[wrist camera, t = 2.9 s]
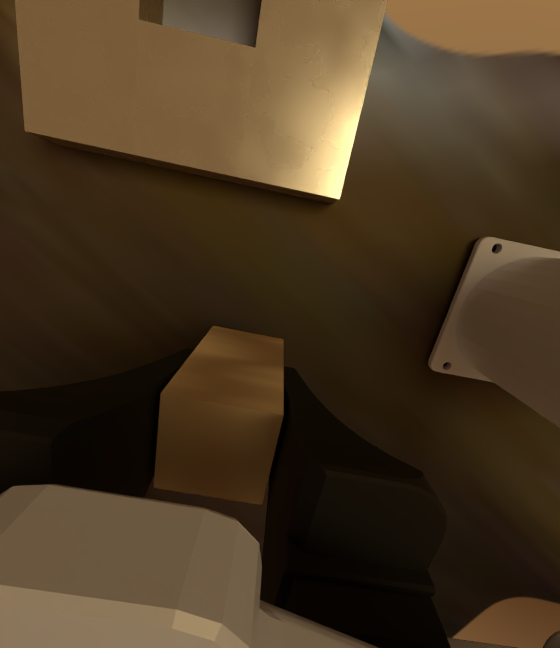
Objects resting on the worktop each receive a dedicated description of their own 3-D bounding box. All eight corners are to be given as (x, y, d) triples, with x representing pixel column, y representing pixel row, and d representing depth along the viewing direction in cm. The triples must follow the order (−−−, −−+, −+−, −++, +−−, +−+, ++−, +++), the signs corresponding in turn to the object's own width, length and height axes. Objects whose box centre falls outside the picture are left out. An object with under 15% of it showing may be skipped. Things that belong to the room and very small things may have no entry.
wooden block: (283, 339, 12) (283, 414, 7) (270, 399, 13) (262, 504, 8) (213, 325, 12) (160, 393, 7) (204, 387, 13) (153, 487, 8)
